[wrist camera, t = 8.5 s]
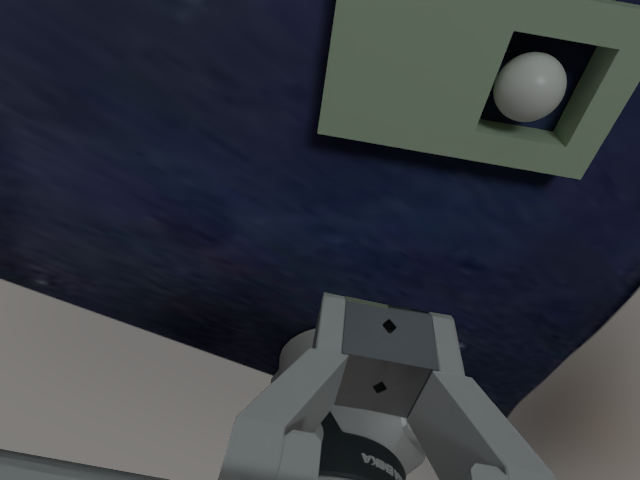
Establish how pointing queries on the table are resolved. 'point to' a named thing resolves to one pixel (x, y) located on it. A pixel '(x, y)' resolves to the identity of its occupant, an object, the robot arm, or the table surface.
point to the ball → (530, 86)
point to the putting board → (473, 77)
